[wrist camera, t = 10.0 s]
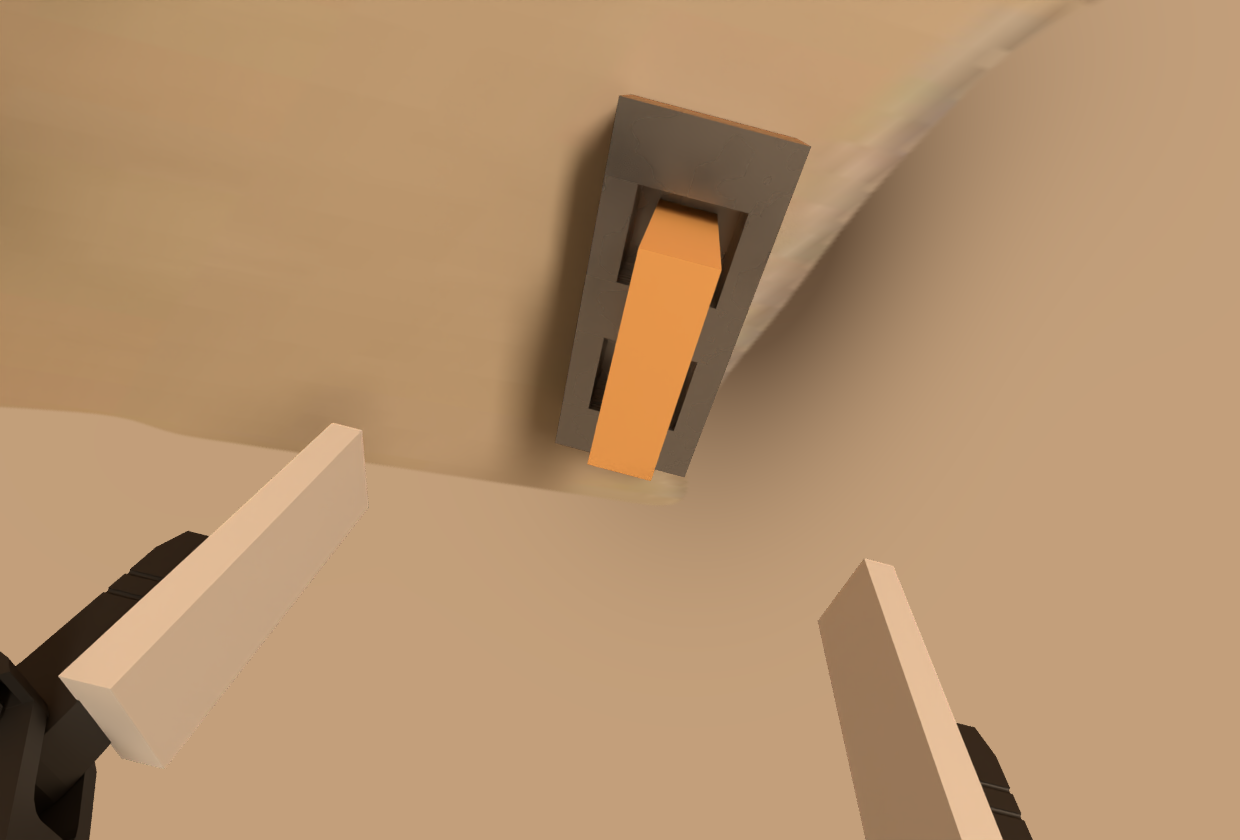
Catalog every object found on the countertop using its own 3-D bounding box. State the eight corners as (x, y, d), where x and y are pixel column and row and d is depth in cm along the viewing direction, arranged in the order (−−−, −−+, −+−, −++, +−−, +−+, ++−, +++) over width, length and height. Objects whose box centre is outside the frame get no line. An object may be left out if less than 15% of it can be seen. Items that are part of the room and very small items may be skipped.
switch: (570, 408, 34) (555, 442, 31) (631, 94, 24) (619, 95, 21) (686, 439, 34) (684, 477, 31) (796, 138, 24) (811, 146, 21)
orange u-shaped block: (617, 369, 31) (587, 464, 23) (659, 198, 26) (638, 248, 18) (665, 381, 31) (650, 480, 23) (717, 214, 26) (721, 269, 18)
